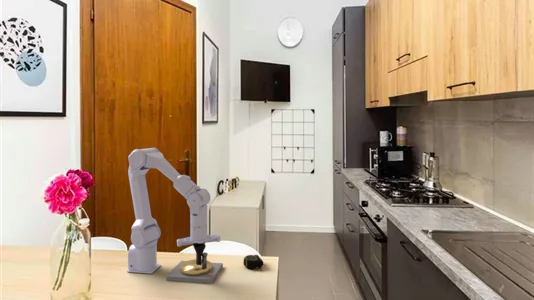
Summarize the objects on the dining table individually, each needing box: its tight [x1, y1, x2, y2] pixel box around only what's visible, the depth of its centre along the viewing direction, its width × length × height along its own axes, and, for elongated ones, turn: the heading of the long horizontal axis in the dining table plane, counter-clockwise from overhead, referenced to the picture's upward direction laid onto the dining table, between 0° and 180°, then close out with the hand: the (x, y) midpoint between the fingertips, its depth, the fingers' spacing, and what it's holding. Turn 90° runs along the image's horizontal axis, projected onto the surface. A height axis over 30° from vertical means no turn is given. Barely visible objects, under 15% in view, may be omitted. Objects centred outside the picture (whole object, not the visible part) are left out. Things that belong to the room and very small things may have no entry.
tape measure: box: [242, 254, 265, 270], centre depth 134 cm, size 7×7×4 cm
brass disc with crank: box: [180, 251, 212, 276], centre depth 127 cm, size 11×11×7 cm
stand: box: [165, 260, 224, 285], centre depth 128 cm, size 16×14×2 cm
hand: (199, 264), depth 124 cm, fingers closed
